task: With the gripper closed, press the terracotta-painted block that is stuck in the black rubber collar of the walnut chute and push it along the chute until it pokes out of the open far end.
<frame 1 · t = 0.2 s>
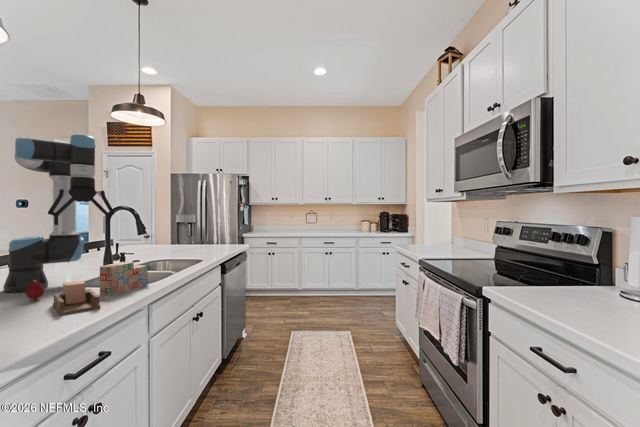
hand: (82, 233, 125), 27 cm above the countertop, fingers open, 13 cm apart
onion: (35, 300, 131), on the countertop
jammed block: (74, 292, 126), point 5 cm above the countertop, slide at 0.0 cm
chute: (76, 307, 123), on the countertop
stack of blocks: (125, 289, 151), on the countertop
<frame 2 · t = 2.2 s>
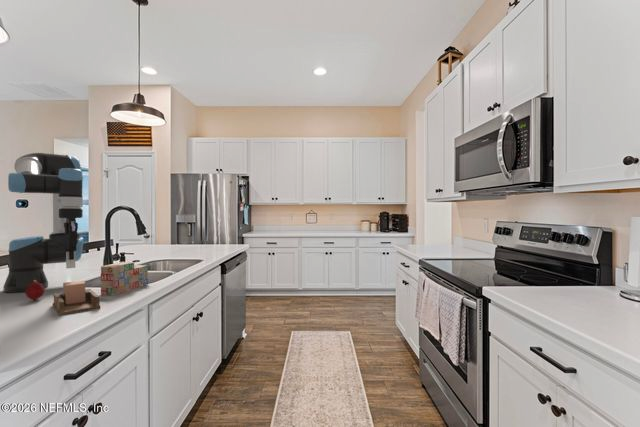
hand: (70, 267, 131), 13 cm above the countertop, fingers closed
nothing on the countertop moved.
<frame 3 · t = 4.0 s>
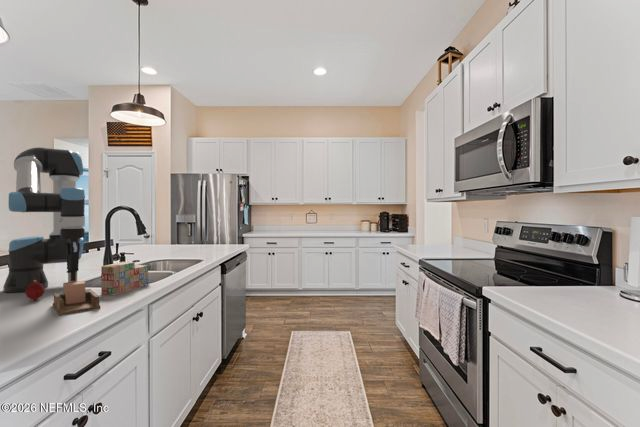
hand: (72, 288, 128), 5 cm above the countertop, fingers closed
jammed block: (74, 292, 126), point 5 cm above the countertop, slide at 0.0 cm, touching gripper
everything else where it was.
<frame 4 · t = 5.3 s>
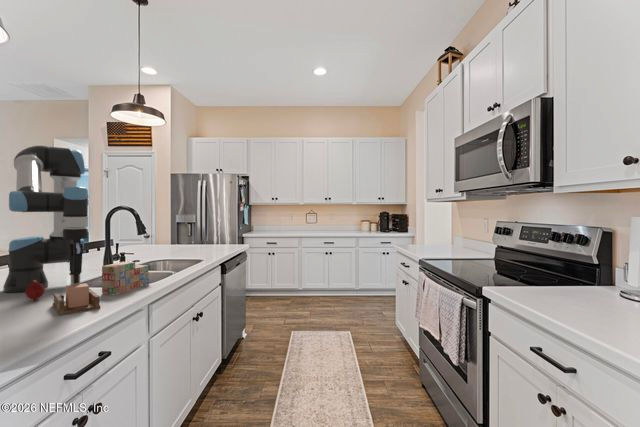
hand: (75, 291, 124), 6 cm above the countertop, fingers closed
jammed block: (77, 295, 121), point 5 cm above the countertop, slide at 6.2 cm, touching gripper
everything else where it was.
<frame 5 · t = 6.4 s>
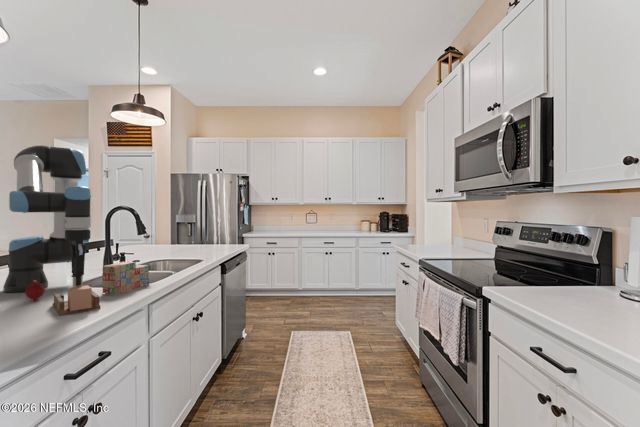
hand: (77, 293, 121), 5 cm above the countertop, fingers closed
jammed block: (79, 297, 118), point 5 cm above the countertop, slide at 10.7 cm, touching gripper
everything else where it was.
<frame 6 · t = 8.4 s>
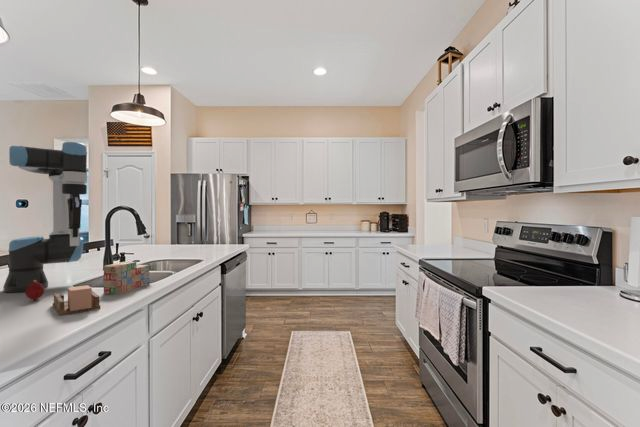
hand: (74, 245, 126), 22 cm above the countertop, fingers closed
jammed block: (79, 297, 118), point 5 cm above the countertop, slide at 10.7 cm
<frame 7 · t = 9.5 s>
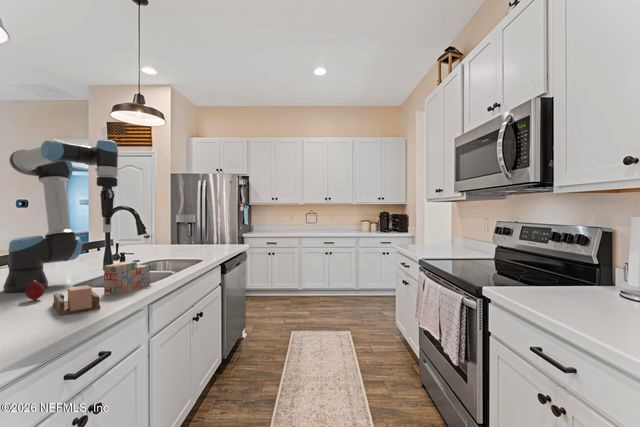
hand: (107, 232, 142), 26 cm above the countertop, fingers closed
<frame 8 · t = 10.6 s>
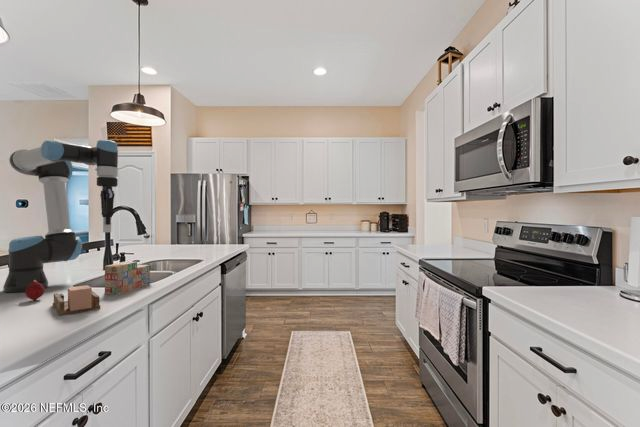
hand: (107, 232, 142), 26 cm above the countertop, fingers closed
at the end: jammed block slide at 10.7 cm; the gripper is holding nothing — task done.
